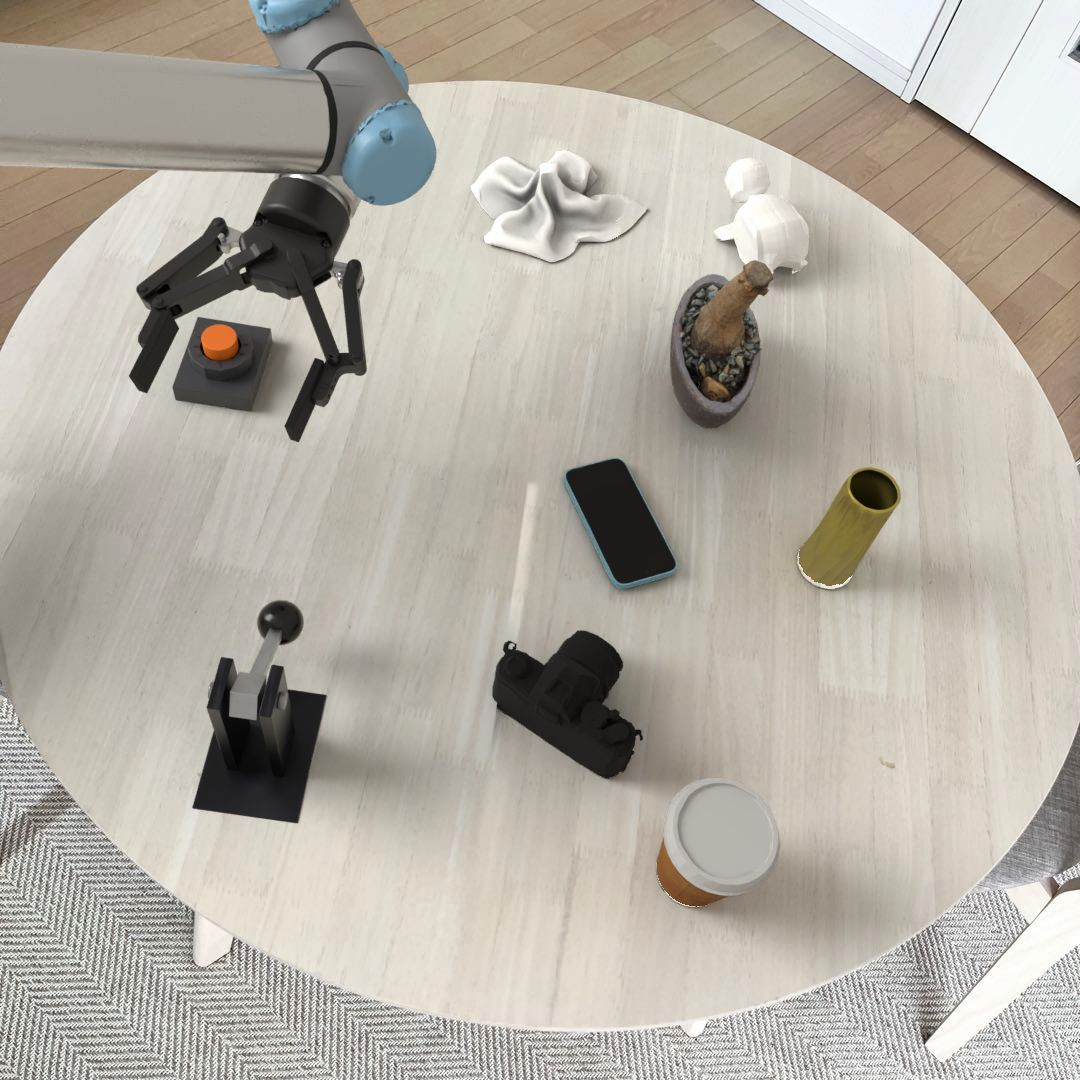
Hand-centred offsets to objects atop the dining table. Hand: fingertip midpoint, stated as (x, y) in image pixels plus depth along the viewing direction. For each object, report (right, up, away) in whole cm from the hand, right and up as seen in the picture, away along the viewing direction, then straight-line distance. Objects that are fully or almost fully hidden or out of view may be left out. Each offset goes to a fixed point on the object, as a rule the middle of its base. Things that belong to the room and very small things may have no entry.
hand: (214, 410), depth 93 cm
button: (-7, +10, +27) cm, 29 cm away
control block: (-7, +8, +30) cm, 31 cm away
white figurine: (+53, +27, +50) cm, 78 cm away
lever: (+3, -22, +3) cm, 23 cm away
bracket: (+2, -30, +8) cm, 31 cm away
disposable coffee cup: (+40, -40, +7) cm, 57 cm away
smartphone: (+35, -9, +25) cm, 44 cm away
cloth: (+29, +31, +49) cm, 65 cm away
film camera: (+30, -26, +14) cm, 42 cm away
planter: (+45, +6, +36) cm, 58 cm away
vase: (+56, -13, +26) cm, 64 cm away
